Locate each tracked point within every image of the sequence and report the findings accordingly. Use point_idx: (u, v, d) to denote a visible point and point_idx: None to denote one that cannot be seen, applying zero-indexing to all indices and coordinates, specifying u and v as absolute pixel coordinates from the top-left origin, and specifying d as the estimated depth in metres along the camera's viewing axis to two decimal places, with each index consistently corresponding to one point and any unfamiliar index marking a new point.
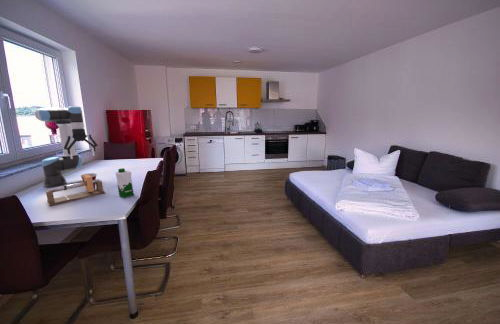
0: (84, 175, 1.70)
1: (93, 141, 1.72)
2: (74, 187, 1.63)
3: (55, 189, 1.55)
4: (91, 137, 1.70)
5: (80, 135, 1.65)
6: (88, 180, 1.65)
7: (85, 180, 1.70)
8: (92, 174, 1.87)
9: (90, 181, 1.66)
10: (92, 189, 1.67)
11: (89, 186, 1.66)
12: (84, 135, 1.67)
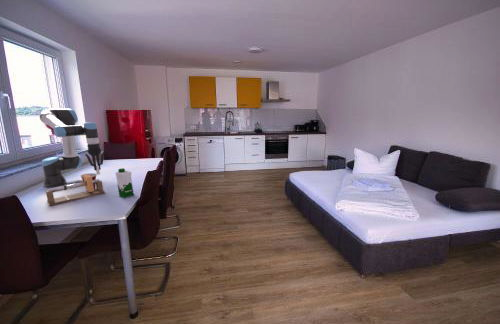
0: (84, 175, 1.70)
1: (102, 159, 1.73)
2: (74, 187, 1.63)
3: (55, 189, 1.55)
4: (103, 155, 1.73)
5: (95, 150, 1.69)
6: (88, 180, 1.65)
7: (85, 180, 1.70)
8: (92, 174, 1.87)
9: (90, 181, 1.66)
10: (92, 189, 1.67)
11: (89, 186, 1.66)
12: (99, 150, 1.71)
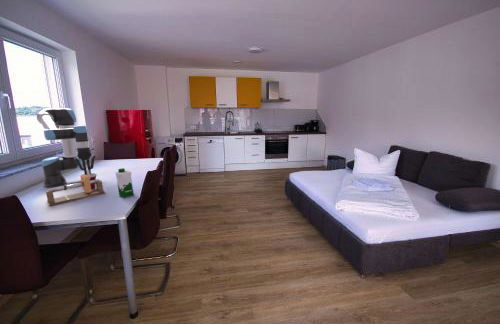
0: (81, 175, 1.69)
1: (92, 163, 1.69)
2: (74, 187, 1.63)
3: (55, 189, 1.55)
4: (94, 158, 1.69)
5: (85, 154, 1.65)
6: (85, 181, 1.64)
7: (82, 181, 1.69)
8: (92, 174, 1.87)
9: (87, 182, 1.65)
10: (89, 189, 1.66)
11: (86, 187, 1.65)
12: (90, 153, 1.67)
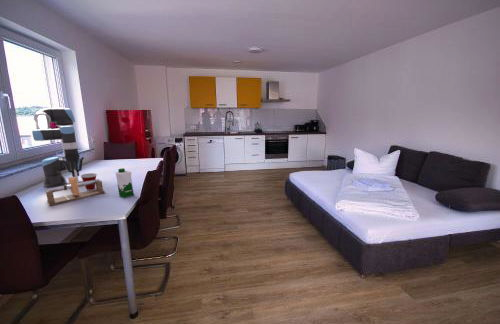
0: (69, 178, 1.63)
1: (80, 164, 1.64)
2: None
3: (55, 189, 1.55)
4: (82, 160, 1.64)
5: (73, 155, 1.60)
6: (73, 183, 1.58)
7: (70, 183, 1.63)
8: (92, 174, 1.87)
9: (75, 184, 1.59)
10: (77, 192, 1.61)
11: (74, 189, 1.59)
12: (78, 155, 1.62)
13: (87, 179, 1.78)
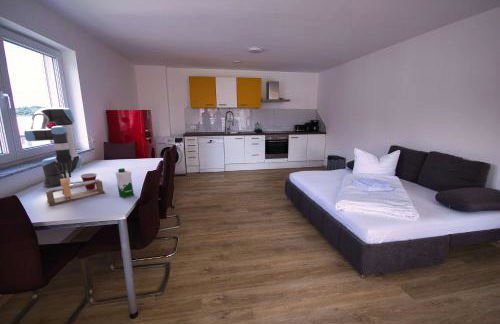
0: (61, 179, 1.60)
1: (72, 165, 1.60)
2: (74, 187, 1.63)
3: (55, 189, 1.55)
4: (74, 161, 1.61)
5: (64, 156, 1.56)
6: (64, 185, 1.55)
7: (62, 184, 1.60)
8: (92, 174, 1.87)
9: (67, 186, 1.56)
10: (69, 194, 1.57)
11: (66, 191, 1.56)
12: (69, 156, 1.58)
13: (87, 179, 1.78)
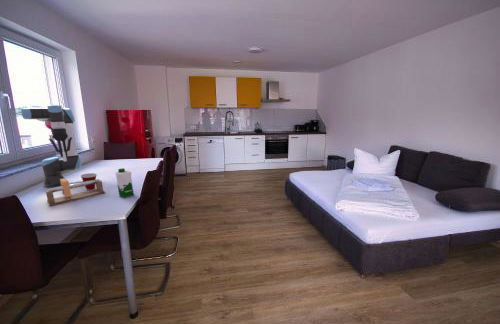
0: (61, 179, 1.60)
1: (69, 144, 1.63)
2: (74, 187, 1.63)
3: (55, 189, 1.55)
4: (70, 140, 1.63)
5: (61, 135, 1.59)
6: (64, 185, 1.55)
7: (62, 184, 1.60)
8: (92, 174, 1.87)
9: (67, 186, 1.56)
10: (69, 194, 1.57)
11: (65, 191, 1.56)
12: (66, 135, 1.61)
13: (87, 179, 1.78)
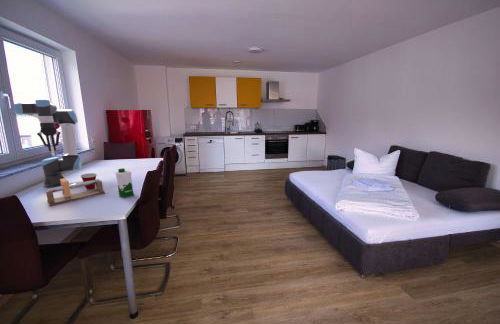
0: (61, 179, 1.60)
1: (57, 139, 1.63)
2: (74, 187, 1.63)
3: (55, 189, 1.55)
4: None
5: (49, 129, 1.59)
6: (64, 185, 1.55)
7: (62, 184, 1.60)
8: (92, 174, 1.87)
9: (67, 186, 1.56)
10: (69, 194, 1.57)
11: (65, 191, 1.56)
12: (54, 129, 1.61)
13: (87, 179, 1.78)
